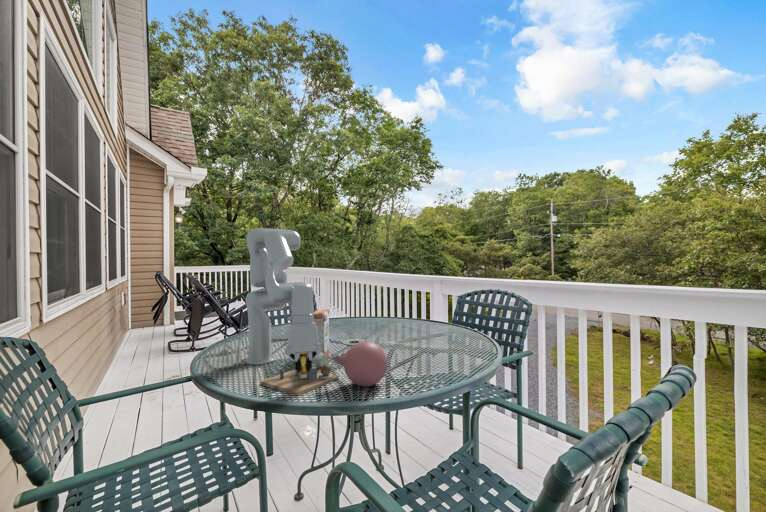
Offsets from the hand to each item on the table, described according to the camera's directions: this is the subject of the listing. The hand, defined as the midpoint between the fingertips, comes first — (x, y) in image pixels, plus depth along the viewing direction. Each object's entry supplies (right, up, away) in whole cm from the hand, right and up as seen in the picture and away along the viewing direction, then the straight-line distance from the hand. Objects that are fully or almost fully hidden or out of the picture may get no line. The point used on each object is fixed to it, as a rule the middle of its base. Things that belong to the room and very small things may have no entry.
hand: (303, 370), depth 131 cm
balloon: (+20, -6, +2) cm, 21 cm away
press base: (-3, -6, +7) cm, 9 cm away
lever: (-2, -3, +6) cm, 7 cm away
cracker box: (-1, -6, +41) cm, 42 cm away
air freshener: (-1, -6, +25) cm, 26 cm away
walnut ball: (+7, -4, +8) cm, 11 cm away
